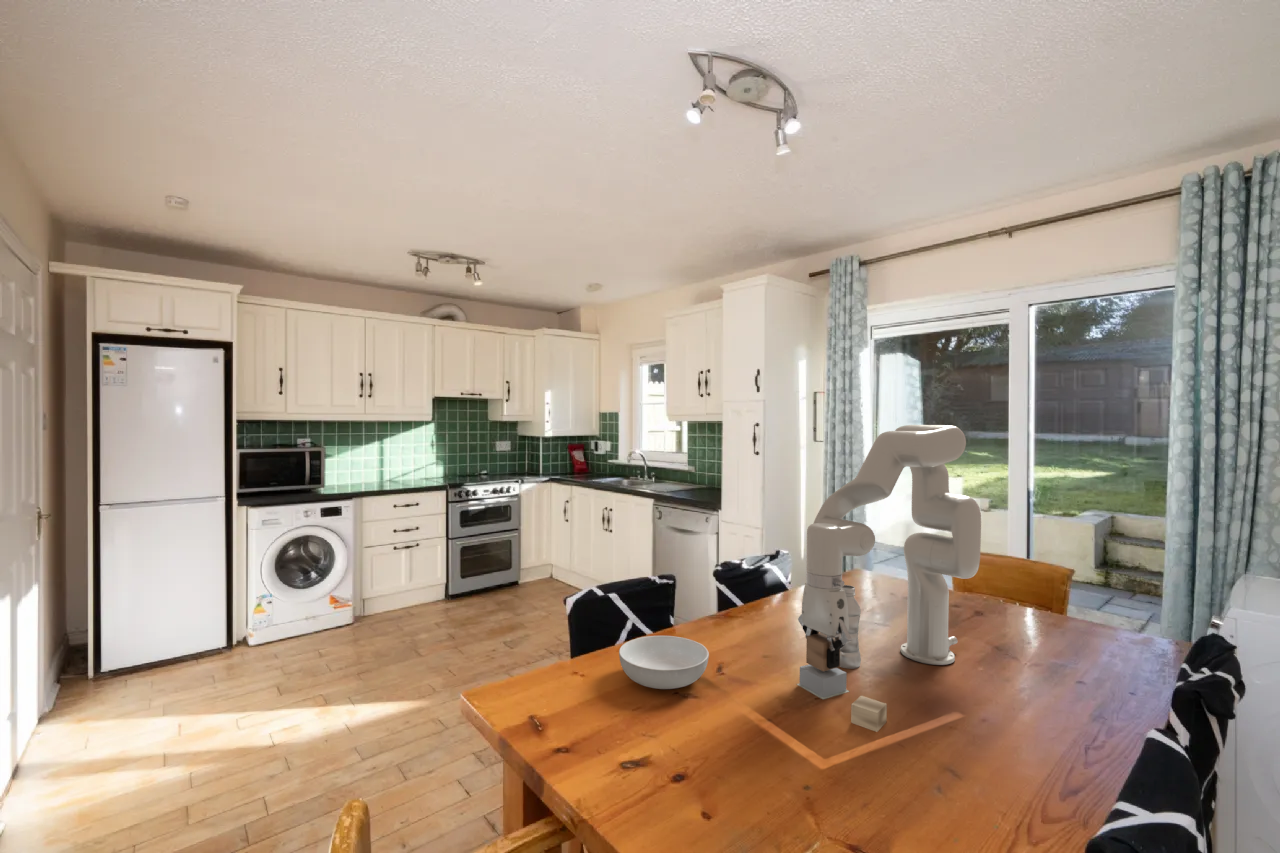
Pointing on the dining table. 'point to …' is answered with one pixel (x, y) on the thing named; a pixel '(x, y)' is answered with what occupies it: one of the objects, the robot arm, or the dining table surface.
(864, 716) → the birch block
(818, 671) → the base block
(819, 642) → the walnut block
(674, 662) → the serving bowl
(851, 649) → the plastic bottle
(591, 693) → the dining table surface
